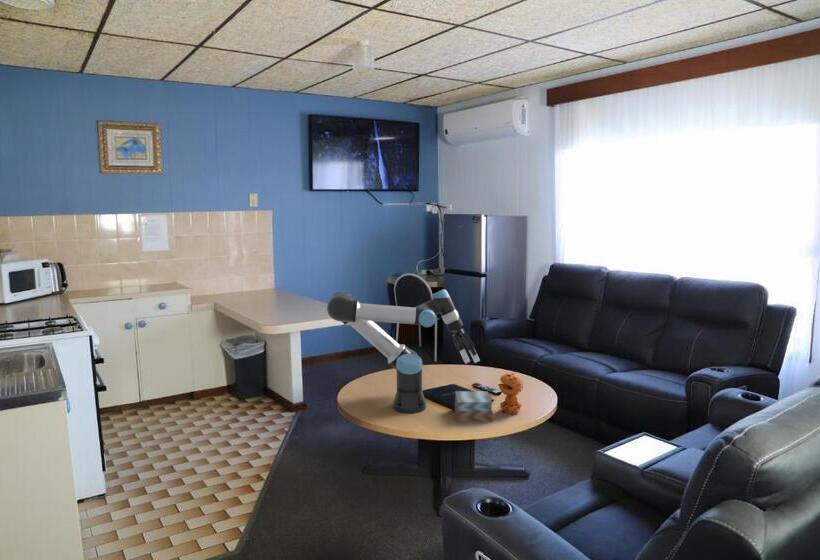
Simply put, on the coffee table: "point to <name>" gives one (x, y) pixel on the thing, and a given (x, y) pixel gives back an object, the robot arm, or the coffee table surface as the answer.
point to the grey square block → (473, 406)
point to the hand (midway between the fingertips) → (472, 362)
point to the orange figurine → (510, 392)
